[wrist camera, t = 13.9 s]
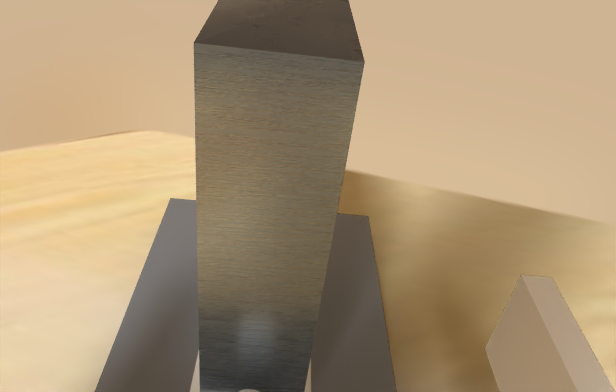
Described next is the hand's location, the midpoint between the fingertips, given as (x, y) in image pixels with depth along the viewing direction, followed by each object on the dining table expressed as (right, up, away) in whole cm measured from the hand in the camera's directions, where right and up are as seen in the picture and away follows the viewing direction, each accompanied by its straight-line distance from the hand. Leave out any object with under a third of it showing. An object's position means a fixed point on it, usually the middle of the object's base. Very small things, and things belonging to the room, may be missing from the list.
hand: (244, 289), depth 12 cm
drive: (-1, -3, +11) cm, 11 cm away
